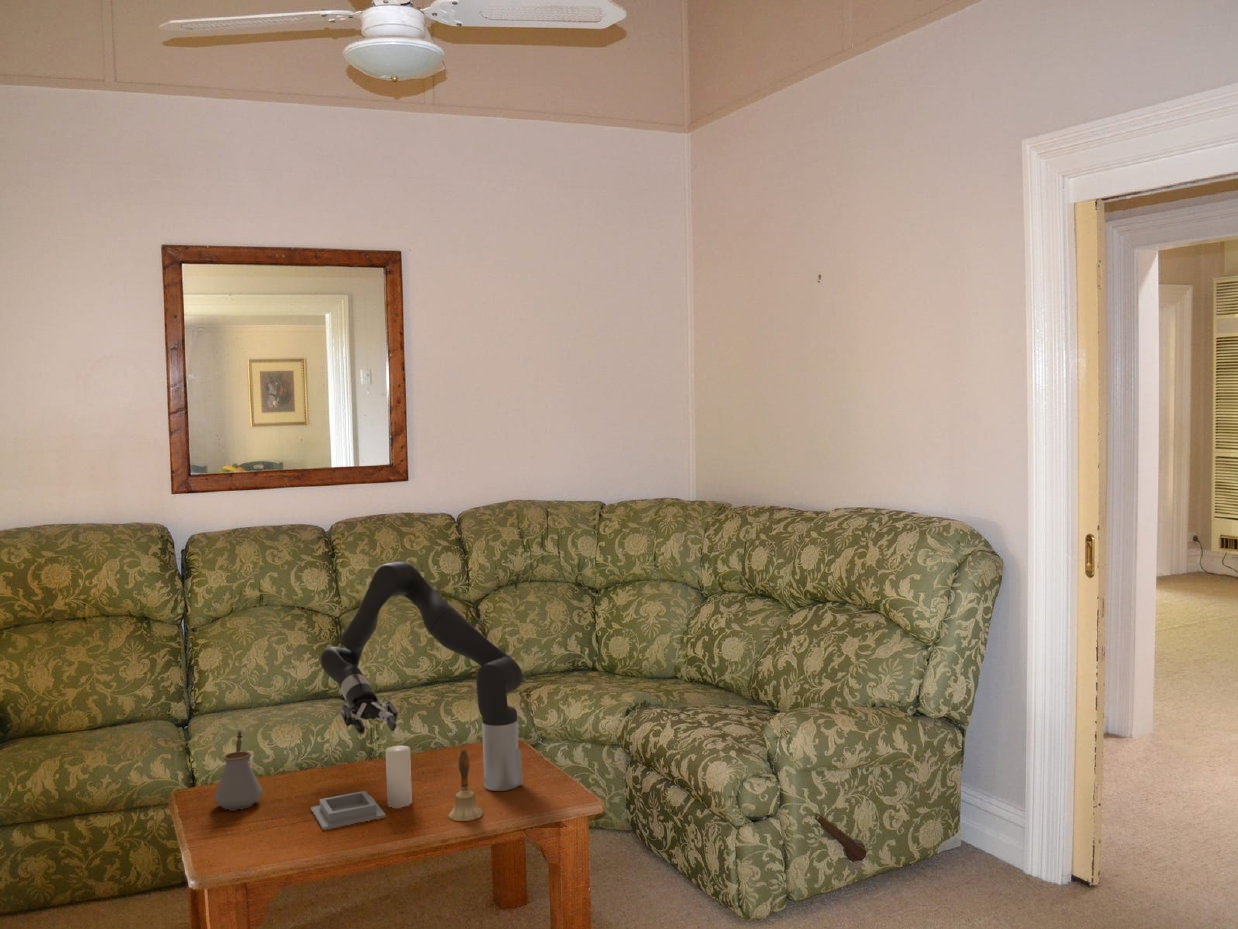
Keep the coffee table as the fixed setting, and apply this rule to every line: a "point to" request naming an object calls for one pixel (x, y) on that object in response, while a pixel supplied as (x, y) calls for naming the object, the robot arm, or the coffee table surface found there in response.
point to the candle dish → (346, 810)
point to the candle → (398, 776)
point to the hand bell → (465, 795)
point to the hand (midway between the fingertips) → (378, 730)
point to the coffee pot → (237, 781)
